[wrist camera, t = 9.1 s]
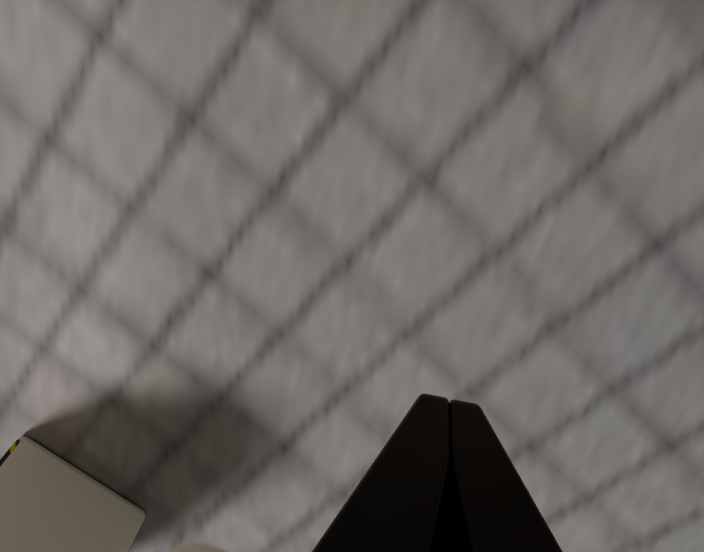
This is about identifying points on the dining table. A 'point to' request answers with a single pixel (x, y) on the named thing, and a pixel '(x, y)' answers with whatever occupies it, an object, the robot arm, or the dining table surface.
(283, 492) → the dining table surface
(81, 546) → the medicine bottle
